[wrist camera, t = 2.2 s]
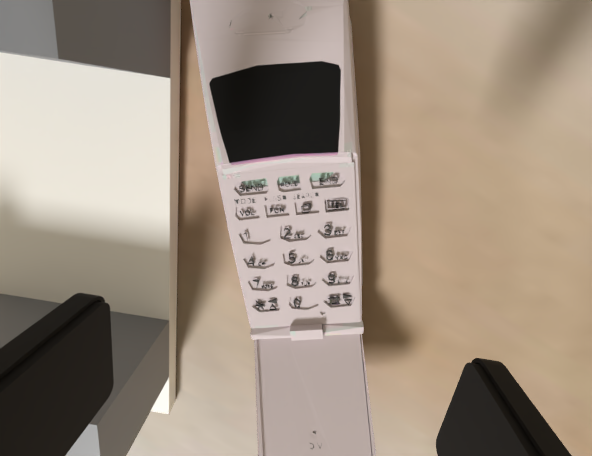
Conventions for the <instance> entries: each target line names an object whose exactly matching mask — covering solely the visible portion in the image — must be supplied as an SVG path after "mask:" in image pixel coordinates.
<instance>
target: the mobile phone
mask: <svg viewBox="0 0 592 456" xmlns="http://www.w3.org/2000/svg"><path fill="white" fill-rule="evenodd" d="M190 7H191V14H192V22H193V29H194V36H195V43H196V50H197V56H198V63H199V70H200V76H201V83H202V90H203V96H204V103H205V108H206V114H207V120H208V126H209V131H210V137H211V143H212V148H213V154H214V160H215V165H216V170H217V175H218V180H219V186H220V191H221V196H222V201H223V206H224V211H225V216H226V221H227V226H228V231H229V235H230V240H231V244H232V249H233V253H234V257H235V262H236V266H237V271H238V275H239V279H240V284H241V288H242V292H243V297H244V301H245V306H246V310H247V314H248V319H249V323H250V327H251V335H250V336H251V338H252V340H254V345H255V376H256V407H257V438H258V456H376V449H375V441H374V433H373V424H372V416H371V408H370V399H369V391H368V382H367V374H366V366H365V357H364V349H363V341H362V334H363V331H364V326H363V321H362V285H363V281H362V215H361V170H360V144H359V128H358V113H357V97H356V82H355V71H354V56H353V42H352V24H351V20H350V17H349V1H348V0H190ZM360 334H361V340H360ZM361 341H362V349H361ZM362 352H363V358H362Z"/></svg>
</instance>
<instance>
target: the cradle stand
mask: <svg viewBox="0 0 592 456" xmlns="http://www.w3.org/2000/svg"><path fill="white" fill-rule="evenodd" d="M180 44H181V0H0V348H2V347H3V346H4V345H6V344H7V343H8V342H10V341H11V340H12V339H14V338H15V337H17V336H18V335H19V334H21V333H22V332H23V331H25V330H26V329H28V328H29V327H30V326H32V325H33V324H34V323H36V322H37V321H39V320H40V319H41V318H43V317H44V316H45V315H47V314H48V313H50V312H51V311H52V310H54V309H55V308H56V307H58V306H59V305H61V304H62V303H63V302H65V301H66V300H67V299H69V298H70V297H72V296H73V295H75V294H76V293H85V294H92V295H98V296H102V297H103V298H104V300H105V303H108V304H109V305H110V316H111V336H112V357H113V377H114V385H113V389H112V392H111V394H110V396H109V398H108V399H107V401H106V402H105V403H104V405H103V406H102V407H101V409H100V410H99V411H98V413H97V414H96V415H95V417H94V418H93V419H92V421H91V422H90V423H89V425H88V426H87V427H86V429H85V430H84V431H83V433H82V434H81V435H80V437H79V438H78V439H77V441H76V442H75V443H74V445H73V446H72V447H71V449H70V450H69V451H68V453H67V454H66V455H65V456H126V455H127V453H128V451H129V449H130V448H131V446H132V444H133V442H134V440H135V438H136V437H137V435H138V433H139V431H140V429H141V427H142V426H143V424H144V422H145V420H146V418H147V416H148V415H149V413H150V411H152V412H158V413H164V414H169V413H170V411H171V409H172V407H173V405H174V403H175V401H176V329H177V258H178V186H179V115H180Z"/></svg>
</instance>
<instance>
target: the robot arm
mask: <svg viewBox="0 0 592 456" xmlns="http://www.w3.org/2000/svg"><path fill="white" fill-rule="evenodd" d="M113 385H114V377H113V357H112V336H111V316H110V305H109V304H108V303H105V300H104V298H103V297H102V296H98V295H92V294H85V293H76V294H75V295H73V296H72V297H70V298H69V299H67V300H66V301H65V302H63V303H62V304H61V305H59V306H58V307H56V308H55V309H54V310H52V311H51V312H50V313H48V314H47V315H45V316H44V317H43V318H41V319H40V320H39V321H37V322H36V323H34V324H33V325H32V326H30V327H29V328H28V329H26V330H25V331H23V332H22V333H21V334H19V335H18V336H17V337H15V338H14V339H12V340H11V341H10V342H8V343H7V344H6V345H4V346H3V347H2V348H0V456H65V455H66V454H67V453H68V451H69V450H70V449H71V447H72V446H73V445H74V443H75V442H76V441H77V439H78V438H79V437H80V435H81V434H82V433H83V431H84V430H85V429H86V427H87V426H88V425H89V423H90V422H91V421H92V419H93V418H94V417H95V415H96V414H97V413H98V411H99V410H100V409H101V407H102V406H103V405H104V403H105V402H106V401H107V399H108V398H109V396H110V394H111V392H112V389H113ZM436 449H437V454H438V456H571V454H570V453H569V452H568V450H567V449H566V448H565V446H564V445H563V444H562V442H561V441H560V440H559V438H558V437H557V436H556V434H555V433H554V432H553V430H552V429H551V427H550V426H549V425H548V423H547V422H546V421H545V419H544V418H543V417H542V415H541V414H540V413H539V411H538V410H537V409H536V407H535V406H534V405H533V403H532V402H531V400H530V399H529V398H528V396H527V395H526V394H525V392H524V391H523V390H522V388H521V387H520V386H519V384H518V383H517V382H516V380H515V379H514V378H513V376H512V375H511V374H510V372H509V371H508V369H507V368H506V367H505V366H504V365H503V364H502V363H501V362H499V361H493V360H487V359H481V358H475V359H474V360H473V361H472V362H471V363H467V364H466V365H465V367H464V369H463V372H462V374H461V377H460V380H459V382H458V385H457V387H456V390H455V392H454V395H453V397H452V400H451V403H450V405H449V408H448V410H447V413H446V415H445V418H444V421H443V423H442V426H441V428H440V431H439V433H438V436H437V439H436Z"/></svg>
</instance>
